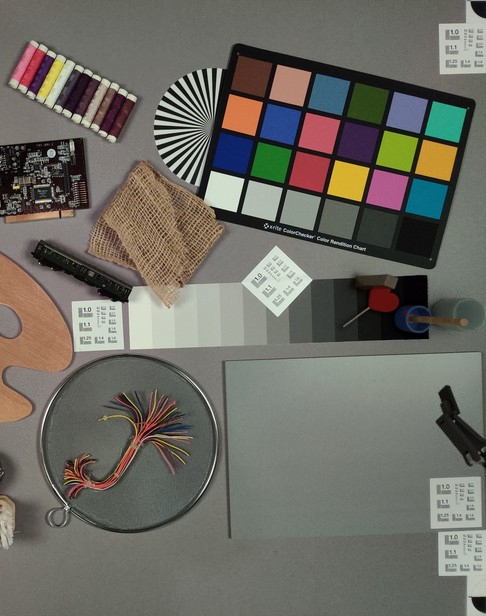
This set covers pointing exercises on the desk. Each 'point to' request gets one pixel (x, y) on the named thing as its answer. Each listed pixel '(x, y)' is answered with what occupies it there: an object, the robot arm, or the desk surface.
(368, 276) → the block
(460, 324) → the stick
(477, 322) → the cup
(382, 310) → the lollipop
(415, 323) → the bowl
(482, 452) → the robot arm
